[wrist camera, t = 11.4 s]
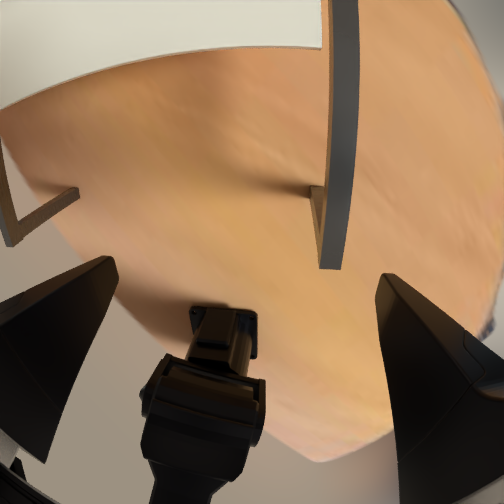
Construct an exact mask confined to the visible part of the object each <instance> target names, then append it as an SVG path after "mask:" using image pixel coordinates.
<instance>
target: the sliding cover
mask: <svg viewBox="0 0 504 504" xmlns="http://www.w3.org/2000/svg"><path fill="white" fill-rule="evenodd" d="M248 48H289V49H310V50H321V49H322V26H321V0H0V111H1V110H3V109H5V108H7V107H9V106H11V105H13V104H15V103H17V102H19V101H22V100H24V99H26V98H28V97H30V96H33V95H35V94H37V93H40V92H42V91H45V90H47V89H50V88H52V87H55V86H58V85H60V84H63V83H66V82H69V81H72V80H74V79H77V78H80V77H84V76H87V75H90V74H93V73H97V72H100V71H104V70H107V69H111V68H115V67H119V66H123V65H127V64H131V63H136V62H140V61H145V60H150V59H155V58H161V57H167V56H173V55H180V54H187V53H195V52H204V51H215V50H228V49H248Z"/></svg>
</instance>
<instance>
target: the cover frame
mask: <svg viewBox="0 0 504 504" xmlns="http://www.w3.org/2000/svg"><path fill="white" fill-rule="evenodd" d="M328 13H329V115H328V138H327V156H326V171H325V185H324V187H319V186H310V204H311V211H312V217H313V224H314V230H315V237H316V244H317V252H318V263H319V269H334V270H341V264H342V258H343V252H344V246H345V240H346V233H347V226H348V219H349V211H350V204H351V195H352V187H353V177H354V167H355V156H356V144H357V129H358V111H359V81H360V42H359V14H358V0H328ZM79 198H80V194H79V189H78V188H70V189H69V190H67V191H65V192H63V193H62V194H60V195H58V196H57V197H55V198H53V199H52V200H50V201H49V202H47V203H45V204H44V205H42V206H41V207H39V208H38V209H36V210H35V211H33V212H31V213H30V214H28V215H27V216H25V217H24V218H22V219H21V220H20V221H18V220H17V217H16V213H15V210H14V206H13V202H12V198H11V194H10V189H9V185H8V181H7V176H6V171H5V166H4V160H3V153H2V147H1V139H0V229H1V232H2V235H3V238H4V241H5V244H6V246H7V247H14V246H15V245H16V244H18V243H19V242H20V241H22V240H23V238H24V237H25V236H26V235H28V234H29V233H30V232H32V231H33V230H34V229H35V228H37V227H38V226H40V225H41V224H42V223H44V222H45V221H47V220H48V219H49V218H51V217H52V216H54V215H55V214H57V213H58V212H60V211H61V210H63V209H64V208H66V207H67V206H69V205H70V204H72V203H73V202H75V201H76V200H78V199H79Z"/></svg>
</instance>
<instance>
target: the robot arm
mask: <svg viewBox="0 0 504 504" xmlns="http://www.w3.org/2000/svg"><path fill="white" fill-rule="evenodd" d="M118 281H119V275H118V271H117V268H116V264H115V261H114V258H113V257H112V256H100V257H98V258H95V259H93V260H91V261H89V262H86V263H84V264H82V265H80V266H77V267H75V268H73V269H71V270H68V271H66V272H64V273H62V274H60V275H57V276H55V277H53V278H51V279H49V280H47V281H45V282H43V283H40V284H38V285H36V286H34V287H32V288H30V289H28V290H26V291H25V292H22V293H20V294H18V295H16V296H13V297H12V298H9V299H7V300H5V301H3V302H1V303H0V504H60V503H59V502H57V501H55V500H53V499H52V498H50V497H49V496H47V495H45V494H44V493H42V492H41V491H39V490H38V489H36V488H35V487H33V486H32V485H30V484H29V483H28V482H27V481H26V477H25V474H24V470H23V466H22V462H21V460H20V459H18V458H17V457H16V454H17V452H18V450H19V448H21V449H22V450H23V451H25V452H26V453H28V454H29V455H31V456H32V457H34V458H35V459H37V460H38V461H40V462H42V463H43V464H45V462H46V460H47V457H48V453H49V450H50V447H51V444H52V441H53V438H54V435H55V433H56V430H57V427H58V424H59V421H60V418H61V416H62V413H63V410H64V407H65V405H66V402H67V400H68V397H69V395H70V392H71V389H72V387H73V384H74V382H75V380H76V378H77V375H78V373H79V371H80V368H81V366H82V364H83V361H84V359H85V357H86V355H87V353H88V350H89V348H90V346H91V344H92V342H93V340H94V338H95V335H96V333H97V331H98V329H99V327H100V325H101V323H102V321H103V319H104V317H105V314H106V312H107V309H108V307H109V304H110V302H111V299H112V297H113V294H114V292H115V289H116V287H117V284H118ZM375 305H376V313H377V323H378V333H379V341H380V347H381V352H382V357H383V362H384V367H385V372H386V378H387V384H388V390H389V396H390V402H391V409H392V416H393V424H394V432H395V440H396V450H397V461H398V478H399V496H400V497H399V498H400V504H504V359H502V358H501V357H500V356H498V355H497V354H496V353H494V352H493V351H492V350H490V349H489V348H488V347H487V346H485V345H484V344H483V343H482V342H480V341H479V340H478V339H477V338H475V337H474V336H473V335H472V334H471V333H469V332H468V331H467V330H465V329H464V328H463V327H462V326H461V325H460V324H458V323H457V322H456V321H455V320H454V319H452V318H451V317H450V316H449V315H447V314H446V313H445V312H444V311H442V310H441V309H440V308H439V307H437V306H436V305H435V304H433V303H432V302H431V301H430V300H428V299H427V298H426V297H424V296H423V295H422V294H421V293H419V292H418V291H417V290H415V289H414V288H413V287H411V286H410V285H409V284H407V283H406V282H405V281H403V280H402V279H401V278H399V277H398V276H397V275H395V274H393V273H383V274H382V275H381V277H380V280H379V284H378V287H377V291H376V295H375ZM194 311H195V312H194ZM189 315H190V320H191V325H192V330H193V335H194V336H193V338H192V341H191V344H190V346H189V349H188V352H187V355H186V357H185V360H184V359H180V358H177V357H174V356H173V355H171V354H168V353H166V355H165V356H164V358H163V359H161V361H160V362H159V364H158V366H157V367H156V369H155V371H154V372H153V374H152V376H151V377H150V379H149V381H148V382H147V384H146V385H145V386H144V387H143V388H142V389H141V391H140V394H139V397H140V399H141V400H142V417H145V418H146V422H145V426H144V430H143V434H142V439H141V444H140V445H141V450H142V454H143V457H144V458H145V459H148V462H149V465H150V467H151V470H152V473H153V475H154V478H155V481H154V486H153V490H152V494H151V497H150V502H149V504H210V502H211V498H212V495H213V494H214V493H215V492H217V491H218V490H219V489H220V488H221V487H223V486H224V485H225V484H226V483H227V482H228V481H229V482H233V481H234V480H235V479H236V478H237V477H238V476H239V475H240V474H241V473H242V471H243V468H244V466H245V462H246V459H247V455H248V451H249V448H250V446H251V447H255V446H256V445H257V444H258V441H259V439H260V436H261V433H262V430H263V426H264V421H265V413H266V381H265V380H263V379H254V378H250V377H247V372H248V366H249V360H250V359H256V358H257V351H258V315H257V313H255V312H252V311H240V310H228V309H217V308H207V307H197V306H192V307H191V308H190V310H189ZM250 316H252V317H253V318H252V317H250Z"/></svg>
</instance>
